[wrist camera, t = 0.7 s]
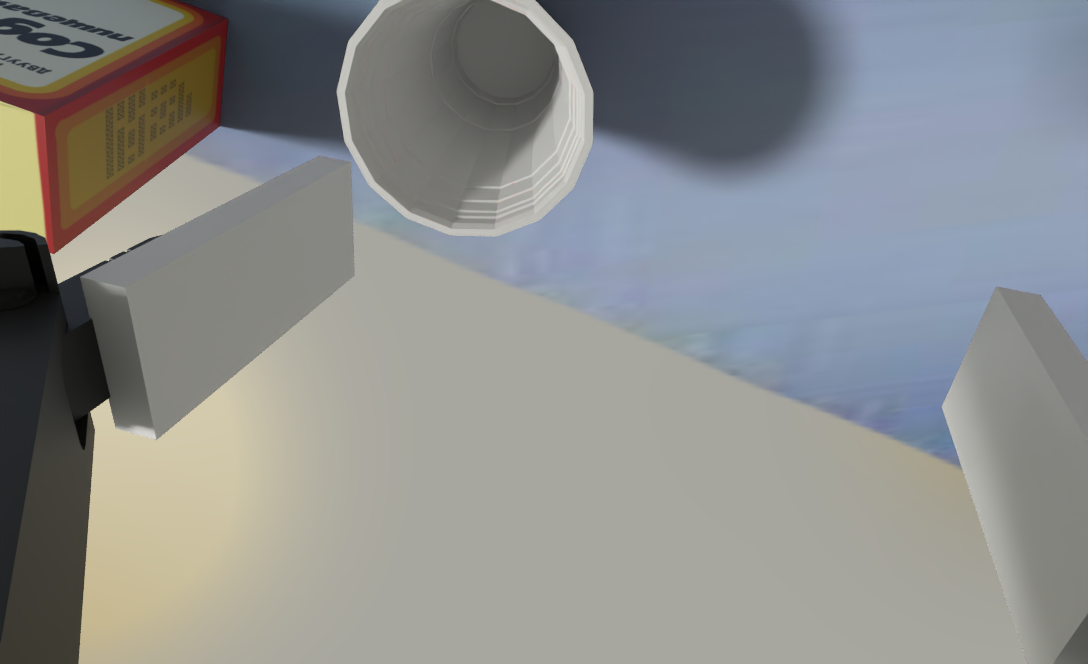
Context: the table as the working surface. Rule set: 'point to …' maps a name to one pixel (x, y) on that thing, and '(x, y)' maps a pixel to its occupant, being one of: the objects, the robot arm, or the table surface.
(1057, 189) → the table surface
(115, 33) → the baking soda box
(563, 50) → the plastic cup
